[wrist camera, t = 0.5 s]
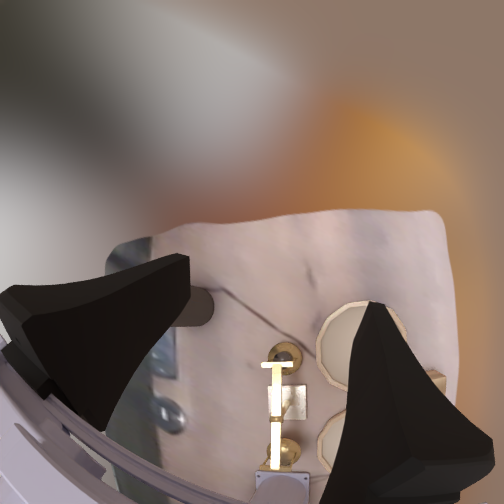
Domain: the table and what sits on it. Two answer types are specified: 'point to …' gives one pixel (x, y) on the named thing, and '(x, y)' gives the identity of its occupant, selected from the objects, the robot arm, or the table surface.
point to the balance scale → (284, 406)
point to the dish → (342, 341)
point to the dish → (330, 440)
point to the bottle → (196, 309)
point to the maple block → (438, 380)
